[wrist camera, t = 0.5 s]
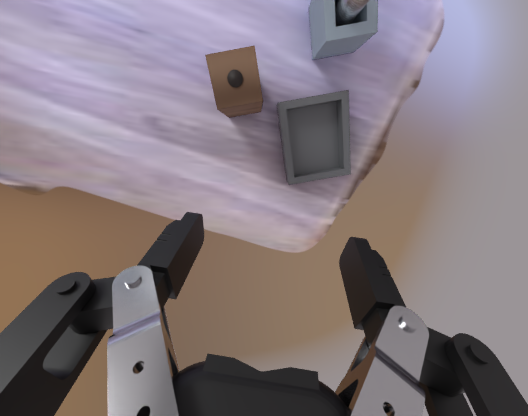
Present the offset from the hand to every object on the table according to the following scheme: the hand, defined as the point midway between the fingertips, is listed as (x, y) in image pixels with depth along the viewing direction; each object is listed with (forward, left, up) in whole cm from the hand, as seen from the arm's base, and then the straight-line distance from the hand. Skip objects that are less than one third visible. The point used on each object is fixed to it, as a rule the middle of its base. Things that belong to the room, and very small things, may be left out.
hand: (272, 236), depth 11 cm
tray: (-3, +9, -24) cm, 26 cm away
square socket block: (-17, +13, -24) cm, 33 cm away
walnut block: (-11, -1, -24) cm, 27 cm away
